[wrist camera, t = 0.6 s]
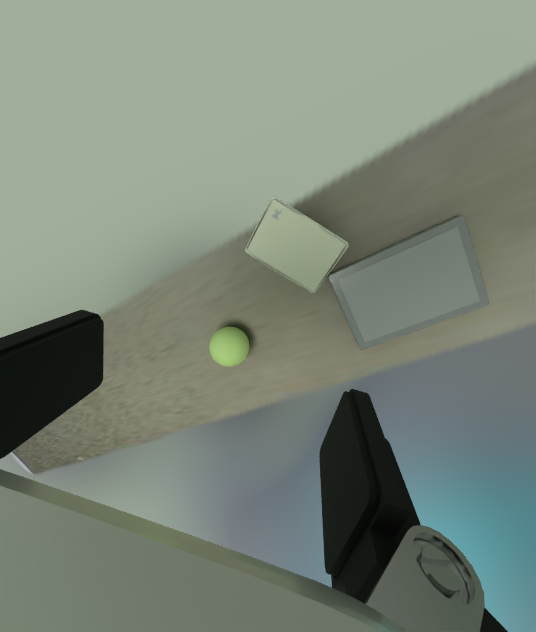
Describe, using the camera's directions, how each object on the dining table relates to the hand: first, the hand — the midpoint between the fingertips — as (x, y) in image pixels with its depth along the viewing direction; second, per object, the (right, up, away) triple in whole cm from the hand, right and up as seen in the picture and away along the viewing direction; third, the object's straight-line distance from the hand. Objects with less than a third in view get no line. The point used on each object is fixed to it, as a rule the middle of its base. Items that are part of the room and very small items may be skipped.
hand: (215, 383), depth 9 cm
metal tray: (+17, +6, +19) cm, 27 cm away
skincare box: (+6, +11, +20) cm, 23 cm away
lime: (-2, -1, +25) cm, 25 cm away
